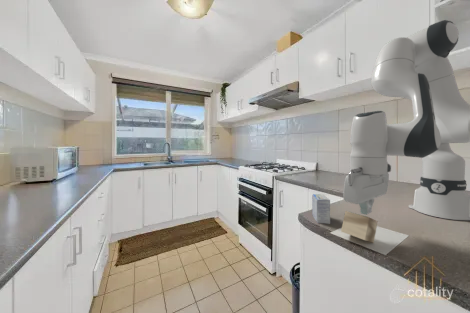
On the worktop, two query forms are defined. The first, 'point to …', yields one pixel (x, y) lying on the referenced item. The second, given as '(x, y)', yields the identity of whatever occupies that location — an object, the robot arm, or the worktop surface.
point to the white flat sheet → (376, 239)
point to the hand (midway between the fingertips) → (366, 213)
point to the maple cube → (359, 226)
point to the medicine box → (321, 208)
